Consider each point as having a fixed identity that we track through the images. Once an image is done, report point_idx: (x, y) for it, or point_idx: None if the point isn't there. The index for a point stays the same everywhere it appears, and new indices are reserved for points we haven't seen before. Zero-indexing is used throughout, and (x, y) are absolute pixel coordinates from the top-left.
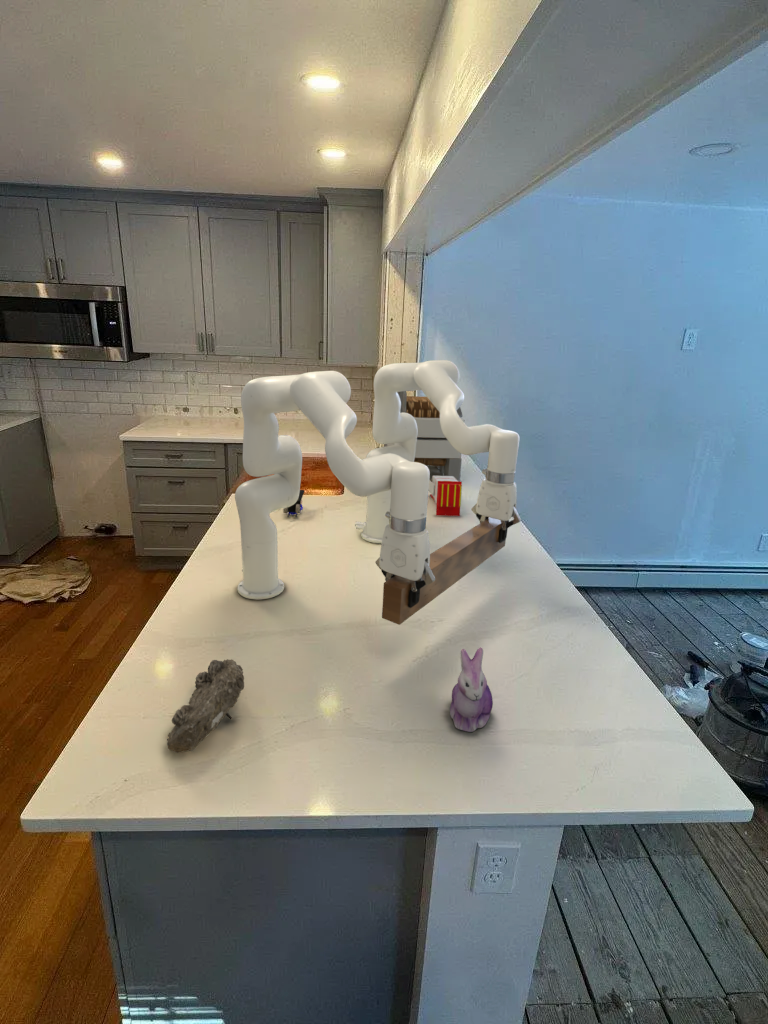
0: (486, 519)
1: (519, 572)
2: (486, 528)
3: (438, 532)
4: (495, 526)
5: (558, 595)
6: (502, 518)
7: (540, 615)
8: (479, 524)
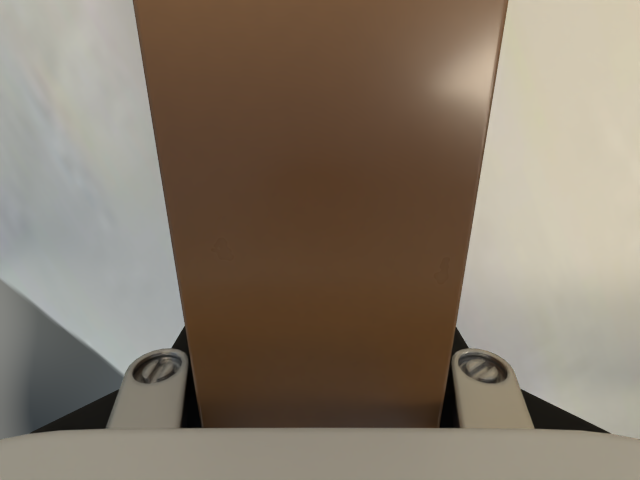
0: (436, 424)
1: None
2: (251, 26)
3: None
4: (185, 260)
5: (94, 299)
6: (25, 459)
7: (47, 112)
8: (462, 152)
